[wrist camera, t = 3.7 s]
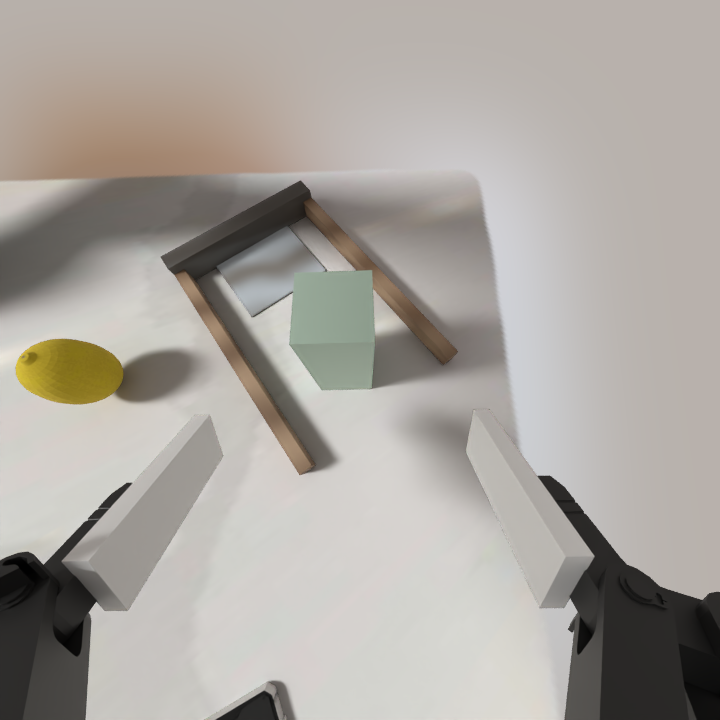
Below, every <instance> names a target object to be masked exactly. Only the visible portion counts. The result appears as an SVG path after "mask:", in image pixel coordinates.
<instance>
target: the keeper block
mask: <svg viewBox="0 0 720 720" xmlns="http://www.w3.org/2000/svg"><path fill="white" fill-rule="evenodd" d="M289 345H290V346H291V347H292V349H293V350H294V352H295V353H296V354H297V356H298V357H299V359H300V360H301V362H302V363H303V364H304V366H305V367H306V369H307V370H308V371H309V373H310V374H311V376H312V377H313V378H314V380H315V381H316V383H317V384H318V386H319V387H320V388H321V390H351V389H372V377H373V363H374V350H375V329H374V305H373V281H372V270H363V271H332V272H301V273H294V287H293V301H292V315H291V328H290V342H289Z"/></svg>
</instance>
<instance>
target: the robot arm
mask: <svg viewBox="0 0 720 720" xmlns="http://www.w3.org/2000/svg"><path fill="white" fill-rule="evenodd" d="M466 453H467V455H468V458H469V460H470V462H471V464H472V466H473V468H474V470H475V472H476V475H477V477H478V479H479V481H480V483H481V485H482V487H483V489H484V492H485V494H486V496H487V498H488V500H489V502H490V504H491V506H492V509H493V511H494V513H495V515H496V517H497V519H498V521H499V523H500V526H501V528H502V530H503V532H504V534H505V536H506V538H507V540H508V543H509V545H510V547H511V549H512V551H513V553H514V555H515V557H516V560H517V562H518V564H519V566H520V568H521V570H522V572H523V574H524V577H525V579H526V581H527V583H528V585H529V587H530V589H531V591H532V594H533V596H534V598H535V600H536V602H537V604H538V606H539V608H564V607H565V606H566V604H567V602H568V601H569V599H570V598H571V600H572V602H573V604H574V606H575V607H576V609H577V611H578V613H577V614H576V616H575V617H574V619H573V621H572V622H571V624H570V626H569V628H568V630H569V631H571V632H573V631H574V638H573V647H572V656H571V665H570V674H569V684H568V692H567V702H566V711H565V720H720V592H714V593H709V594H708V595H707V596H706V597H705V598H704V599H703V600H700V599H697V598H694V597H691V596H687V595H684V594H681V593H678V592H674V591H671V590H668V589H665V588H662V587H660V586H659V585H658V584H656V583H655V582H654V581H653V580H652V579H651V578H650V577H649V576H647V575H646V574H644V573H643V572H641V571H640V570H638V569H636V568H634V567H632V566H629V565H627V564H626V563H625V562H624V561H623V560H622V559H621V558H620V557H619V555H618V554H617V553H616V552H615V550H614V549H613V548H612V547H611V545H610V544H609V543H608V541H607V540H606V539H605V538H604V537H603V535H602V534H601V533H600V531H599V530H598V529H597V527H596V526H595V525H594V524H593V522H592V521H591V520H590V519H589V517H588V516H587V515H586V514H584V511H583V510H582V509H581V507H580V506H579V505H578V503H575V500H574V498H573V497H572V496H571V495H570V493H569V492H568V491H567V490H566V488H565V487H564V486H562V485H561V484H560V483H559V482H557V481H556V480H555V479H554V478H552V477H551V476H537V475H536V474H535V472H534V471H533V469H532V468H531V467H530V465H529V464H528V463H527V461H526V460H525V458H524V457H523V456H522V454H521V453H520V451H519V450H518V449H517V447H516V446H515V444H514V443H513V442H512V440H511V439H510V437H509V436H508V435H507V433H506V432H505V430H504V429H503V428H502V426H501V425H500V423H499V422H498V421H497V419H496V418H495V416H494V415H493V414H492V412H491V411H490V409H474V410H473V416H472V421H471V426H470V432H469V437H468V442H467V448H466ZM222 457H223V453H222V450H221V447H220V444H219V441H218V438H217V435H216V432H215V429H214V426H213V423H212V420H211V417H210V415H194V416H193V417H192V419H191V420H190V421H189V422H188V423H187V424H186V425H185V426H184V427H183V428H182V430H181V431H180V432H179V433H178V434H177V435H176V436H175V437H174V438H173V439H172V441H171V442H170V443H169V444H168V445H167V446H166V447H165V448H164V449H163V450H162V452H161V453H160V454H159V455H158V456H157V457H156V458H155V459H154V460H153V461H152V462H151V464H150V465H149V466H148V467H147V468H146V469H145V470H144V471H143V472H142V473H141V475H140V476H139V477H138V478H137V479H136V480H135V481H134V482H133V483H126V484H125V485H123V486H122V487H120V488H119V489H118V490H116V491H115V492H113V493H112V494H111V495H110V496H109V497H108V498H107V499H106V500H105V501H104V502H103V503H102V504H101V505H100V506H99V509H98V510H96V511H95V512H94V513H93V514H92V515H91V516H90V517H89V518H88V521H85V522H84V523H83V524H82V525H81V526H80V527H79V528H78V529H77V530H76V532H75V533H74V534H73V535H72V536H71V537H70V538H69V539H68V540H67V541H66V542H65V543H64V544H63V545H62V546H61V547H60V548H59V549H58V550H57V551H56V552H55V554H54V555H53V556H52V557H51V558H50V559H49V560H48V561H47V562H46V563H45V564H44V565H43V564H42V563H41V562H40V561H39V560H38V559H37V557H36V556H35V555H34V554H32V553H29V552H22V553H17V554H14V555H11V556H9V557H6V558H4V559H2V560H0V720H85V718H86V701H87V684H88V667H89V651H90V634H91V617H90V614H89V613H88V612H89V611H90V610H91V608H92V607H93V605H94V604H95V603H96V602H97V603H98V604H99V605H100V606H101V607H102V608H103V609H104V611H128V610H129V608H130V607H131V605H132V603H133V602H134V600H135V598H136V597H137V595H138V594H139V592H140V590H141V589H142V587H143V585H144V584H145V582H146V581H147V579H148V577H149V576H150V574H151V573H152V571H153V569H154V568H155V566H156V564H157V563H158V561H159V560H160V558H161V556H162V555H163V553H164V551H165V550H166V548H167V547H168V545H169V543H170V542H171V540H172V538H173V537H174V535H175V534H176V532H177V530H178V529H179V527H180V526H181V524H182V522H183V521H184V519H185V517H186V516H187V514H188V513H189V511H190V509H191V508H192V506H193V504H194V503H195V501H196V500H197V498H198V496H199V495H200V493H201V491H202V490H203V488H204V487H205V485H206V483H207V482H208V480H209V479H210V477H211V475H212V474H213V472H214V470H215V469H216V467H217V466H218V464H219V462H220V461H221V459H222Z"/></svg>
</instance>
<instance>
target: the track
mask: <svg viewBox="0 0 720 720" xmlns="http://www.w3.org/2000/svg"><path fill="white" fill-rule="evenodd" d="M306 216H307V217H308V218H309V219H310V220H311V221H312V222H313V223H314V225H315V226H316V227H317V228H318V229H319V230H320V231H321V232H322V233H323V234H324V235H325V237H326V238H327V239H328V240H329V241H330V242H331V243H332V244H333V245H334V246H335V247H336V249H337V250H338V251H339V252H340V253H341V254H342V255H343V256H344V257H345V258H346V259H347V261H348V262H349V263H350V264H351V265H352V266H353V267H354V268H355V269H356V270H357V271H363V270H372V281H373V289H374V290H375V291H376V292H377V293H378V294H379V296H380V297H381V298H382V299H383V300H384V301H385V302H386V303H387V304H388V305H389V306H390V308H391V309H392V310H393V311H394V312H395V313H396V314H397V315H398V316H399V317H400V318H401V320H402V321H403V322H404V323H405V324H406V325H407V326H408V327H409V328H410V329H411V330H412V332H413V333H414V334H415V335H416V336H417V337H418V338H419V339H420V340H421V341H422V342H423V344H424V345H425V346H426V347H427V348H428V349H429V350H430V351H431V352H432V353H433V355H434V356H435V357H436V358H437V359H438V360H439V361H440V362H441V363H442V364H443V365H444V364H445V363H447V362H448V361H449V360H451V359H452V358H453V357H454V356H455V354H456V353H457V352H458V351H457V350H456V349H455V348H454V347H453V346H452V345H451V344H450V342H449V341H448V340H447V339H446V338H445V337H444V336H443V335H442V334H441V333H440V332H439V331H438V330H437V329H436V328H435V327H434V326H433V325H432V324H431V323H430V321H429V320H428V319H427V318H426V317H425V316H424V315H423V314H422V313H421V312H420V311H419V310H418V309H417V308H416V307H415V306H414V305H413V304H412V303H411V302H410V301H409V299H408V298H407V297H406V296H405V295H404V294H403V293H402V292H401V291H400V290H399V289H398V288H397V287H396V286H395V285H394V284H393V283H392V282H391V281H390V280H389V278H388V277H387V276H386V275H385V274H384V273H383V272H382V271H381V270H380V269H379V268H378V267H377V266H376V265H375V264H374V263H373V262H372V261H371V260H370V259H369V258H368V256H367V255H366V254H365V253H364V252H363V251H362V250H361V249H360V248H359V247H358V246H357V245H356V244H355V243H354V242H353V241H352V240H351V239H350V238H349V237H348V235H347V234H346V233H345V232H344V231H343V230H342V229H341V228H340V227H339V226H338V225H337V224H336V223H335V222H334V221H333V220H332V219H331V218H330V217H329V216H328V215H327V213H326V212H325V211H324V210H323V209H322V208H321V207H320V206H319V205H318V204H317V203H316V202H315V201H314V200H313V199H312V198H311V194H310V190H309V189H308V188H307V187H306V186H305V185H304V184H303V183H302V182H301V181H299V182H297V183H295V184H293V185H291V186H290V187H288V188H286V189H284V190H282V191H280V192H279V193H277V194H275V195H273V196H271V197H269V198H268V199H266V200H264V201H262V202H260V203H258V204H257V205H255V206H253V207H251V208H249V209H247V210H246V211H244V212H242V213H240V214H238V215H236V216H235V217H233V218H231V219H229V220H227V221H225V222H223V223H222V224H220V225H218V226H216V227H214V228H212V229H211V230H209V231H207V232H205V233H203V234H201V235H200V236H198V237H196V238H194V239H192V240H190V241H189V242H187V243H185V244H183V245H181V246H179V247H178V248H176V249H174V250H172V251H170V252H168V253H167V254H165V255H163V256H161V258H162V260H163V262H164V263H165V265H166V267H167V268H168V269H169V270H170V271H171V272H172V273H173V274H174V275H175V277H176V278H177V280H178V281H179V283H180V285H181V286H182V288H183V289H184V291H185V293H186V294H187V296H188V297H189V299H190V301H191V302H192V304H193V305H194V307H195V309H196V310H197V312H198V313H199V315H200V317H201V318H202V320H203V321H204V323H205V325H206V326H207V328H208V329H209V331H210V333H211V334H212V336H213V337H214V339H215V341H216V342H217V344H218V345H219V347H220V349H221V350H222V352H223V353H224V355H225V357H226V358H227V360H228V361H229V363H230V365H231V366H232V368H233V369H234V371H235V373H236V374H237V376H238V377H239V379H240V381H241V382H242V384H243V385H244V387H245V389H246V390H247V392H248V393H249V395H250V397H251V398H252V400H253V401H254V403H255V405H256V406H257V408H258V409H259V411H260V413H261V414H262V416H263V417H264V419H265V420H266V422H267V424H268V425H269V427H270V428H271V430H272V432H273V433H274V435H275V436H276V438H277V440H278V441H279V443H280V444H281V446H282V448H283V449H284V451H285V452H286V454H287V456H288V457H289V459H290V460H291V462H292V464H293V465H294V467H295V468H296V470H297V472H298V473H299V475H302V474H305V473H306V472H308V471H309V470H310V469H311V468H313V467H314V466H315V463H314V461H313V460H312V458H311V457H310V455H309V454H308V452H307V451H306V449H305V448H304V446H303V445H302V443H301V442H300V440H299V438H298V437H297V435H296V434H295V432H294V431H293V429H292V428H291V426H290V425H289V423H288V422H287V420H286V419H285V417H284V416H283V414H282V412H281V411H280V409H279V408H278V406H277V405H276V403H275V402H274V400H273V399H272V397H271V396H270V394H269V393H268V391H267V389H266V388H265V386H264V385H263V383H262V382H261V380H260V379H259V377H258V376H257V374H256V373H255V371H254V370H253V368H252V366H251V365H250V363H249V362H248V360H247V359H246V357H245V356H244V354H243V353H242V351H241V350H240V348H239V347H238V345H237V344H236V342H235V340H234V339H233V337H232V336H231V334H230V333H229V331H228V330H227V328H226V327H225V325H224V324H223V322H222V321H221V319H220V317H219V316H218V314H217V313H216V311H215V310H214V308H213V307H212V305H211V304H210V302H209V301H208V299H207V298H206V296H205V294H204V293H203V291H202V290H201V288H200V287H199V285H198V284H197V282H196V281H195V280H196V279H198V278H200V277H201V276H203V275H205V274H207V273H208V272H210V271H212V270H214V269H215V268H218V270H219V271H220V273H221V274H222V275H223V277H224V278H225V280H226V281H227V283H228V284H229V285H230V287H231V288H232V290H233V291H234V293H235V294H236V295H237V297H238V298H239V300H240V301H241V303H242V304H243V305H244V307H245V308H246V310H247V311H248V313H249V314H250V315H251V317H253V316H255V315H257V314H258V313H260V312H261V311H263V310H264V309H266V308H268V307H269V306H271V305H272V304H274V303H276V302H277V301H279V300H280V299H282V298H284V297H285V296H287V295H288V294H290V293H291V292H293V287H294V273H301V272H325V271H326V270H325V269H324V268H323V266H322V265H321V264H320V263H319V262H318V261H317V259H316V258H315V257H314V256H313V255H312V254H311V253H310V251H309V250H308V249H307V248H306V247H305V246H304V245H303V243H302V242H301V241H300V240H299V239H298V238H297V236H296V235H295V234H294V233H293V232H292V231H291V230H290V228H289V227H288V226H290V225H292V224H293V223H295V222H297V221H299V220H300V219H302V218H304V217H306Z"/></svg>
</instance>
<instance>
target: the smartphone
mask: <svg viewBox="0 0 720 720" xmlns="http://www.w3.org/2000/svg"><path fill="white" fill-rule="evenodd" d="M205 720H287V717H286V715H285V716H284V715H283V711H282V707H281V704H280V700H279V697H278V693H277V689H276V686H274V685H273V684H271V683H269V682H266V683H265V684H263V685H261V686H260V687H258V688H256V689H255V690H253V691H251V692H250V693H248V694H246V695H245V696H243V697H241V698H240V699H238V700H236V701H235V702H233V703H231V704H230V705H228V706H226V707H225V708H223V709H221V710H220V711H218V712H216V713H215V714H213V715H211V716H210V717H208V718H206V719H205Z"/></svg>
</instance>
